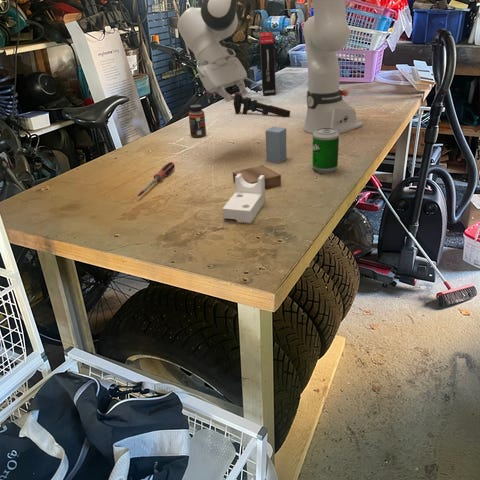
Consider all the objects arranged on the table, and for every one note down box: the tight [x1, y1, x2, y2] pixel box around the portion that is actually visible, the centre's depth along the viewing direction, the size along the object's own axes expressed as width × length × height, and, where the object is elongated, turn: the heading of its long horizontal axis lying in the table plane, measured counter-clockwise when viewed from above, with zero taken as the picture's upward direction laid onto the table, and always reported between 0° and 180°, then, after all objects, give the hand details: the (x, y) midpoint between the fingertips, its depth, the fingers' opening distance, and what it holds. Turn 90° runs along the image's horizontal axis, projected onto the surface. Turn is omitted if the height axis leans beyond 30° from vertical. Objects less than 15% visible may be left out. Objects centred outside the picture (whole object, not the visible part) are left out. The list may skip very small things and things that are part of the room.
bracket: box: [221, 174, 266, 224], centre depth 120 cm, size 13×7×8 cm, turn 162°
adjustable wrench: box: [233, 92, 291, 118], centre depth 202 cm, size 8×3×25 cm
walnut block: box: [232, 164, 282, 190], centre depth 136 cm, size 10×10×3 cm
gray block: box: [265, 126, 288, 164], centre depth 151 cm, size 5×5×10 cm
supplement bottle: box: [188, 104, 207, 138], centre depth 179 cm, size 6×6×11 cm
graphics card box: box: [258, 31, 277, 97], centre depth 233 cm, size 17×7×27 cm, turn 179°
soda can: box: [311, 128, 340, 174], centre depth 140 cm, size 8×8×12 cm
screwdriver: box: [137, 161, 175, 197], centre depth 141 cm, size 25×3×3 cm, turn 165°
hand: (237, 97), depth 150 cm, fingers open, 8 cm apart
